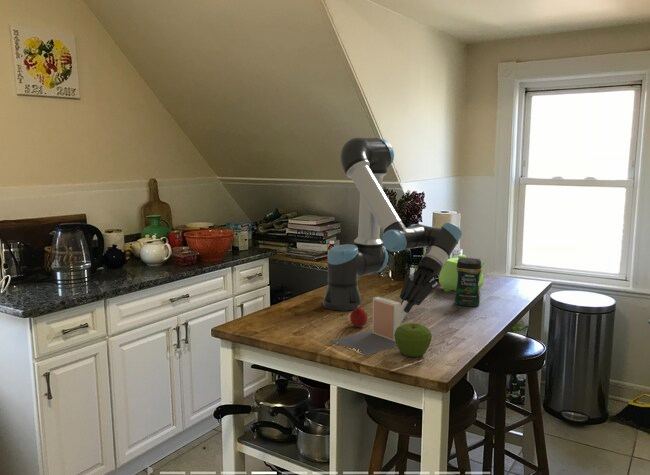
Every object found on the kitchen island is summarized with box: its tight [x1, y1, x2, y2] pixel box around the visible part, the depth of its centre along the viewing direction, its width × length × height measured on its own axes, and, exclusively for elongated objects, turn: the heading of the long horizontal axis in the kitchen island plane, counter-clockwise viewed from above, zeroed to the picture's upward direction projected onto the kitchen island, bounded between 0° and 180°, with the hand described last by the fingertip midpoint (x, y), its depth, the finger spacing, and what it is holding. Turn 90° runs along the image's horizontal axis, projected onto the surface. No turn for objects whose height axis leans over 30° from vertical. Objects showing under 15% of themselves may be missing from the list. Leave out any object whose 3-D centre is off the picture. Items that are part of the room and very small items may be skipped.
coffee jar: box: [454, 257, 483, 307], centre depth 213 cm, size 10×8×19 cm
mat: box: [331, 328, 398, 357], centre depth 172 cm, size 24×16×1 cm, turn 129°
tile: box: [372, 296, 401, 341], centre depth 174 cm, size 3×10×12 cm, turn 39°
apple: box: [394, 322, 433, 358], centre depth 159 cm, size 11×10×10 cm
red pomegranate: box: [349, 305, 368, 328], centre depth 184 cm, size 6×6×8 cm
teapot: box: [438, 254, 485, 293], centre depth 236 cm, size 25×22×16 cm
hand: (397, 319), depth 177 cm, fingers closed
